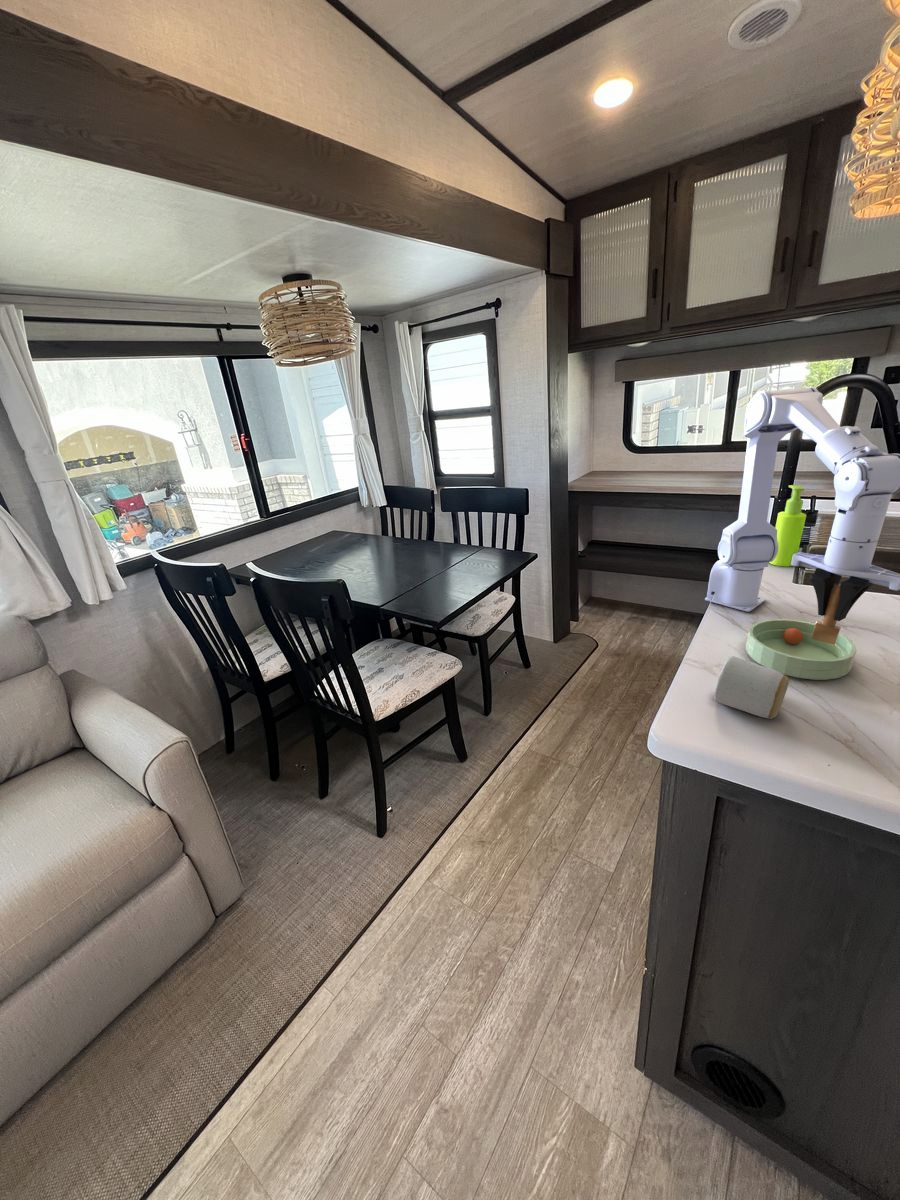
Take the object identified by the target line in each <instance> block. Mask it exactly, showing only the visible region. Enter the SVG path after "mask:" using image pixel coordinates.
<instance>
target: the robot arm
mask: <svg viewBox="0 0 900 1200" xmlns="http://www.w3.org/2000/svg"><path fill="white" fill-rule="evenodd" d="M823 399H824V394H823V393H822V392H820V391H819V390H818V389H817V388H816V387H815V386H813V385H811V386H805V387H800V388H799V387H798V388H786V389H777V390H759V391H757V392H756V393H755V394H754V395H753V396H752V398H751V399H750V400H749V402H747V404H746V409H745V410H746V411H745V416H744V425H743V437H745V438H747V441H746V442H747V443H746V449H745V450H746V451H745V459H744V466H743V477H742V483H741V493H740V500H739V508H738V517H737V519H736V520H735V521H734V522H732V523H731V524H729V525H728V526H726V527H724V528H723V529H722V535H721V538H720V541H719V543H718V546H717V556H718V559H719V560H717V561H716V562H715V563H714V564H713V566H712V568H711V571H710V574H709V580H708V585H707V593H706V597H705V598H704V601H706V602H710V603H713V604H717V605H720V606H723V607H728V608H731V609H736V610H739V611H743V612H746V613H750V612H752V611H753V610H754V609H756V608H758V606H760V605H761V604H763V603H764V602H765V598H762V597H759V593H760V589H761V584H762V579H763V574H764V569H765V568H768V567H769V564H770V563H769V562H772V561H773V560H774V559H775V557H776V556H777V553H778V542H777V529H776V528H775V527H776V526H773V525H772V524H771V523H770V522H768V517H769V510H770V502H771V495H772V488H773V482H774V474H775V469H776V468H775V467H776V459H777V452H778V445H779V442H780V441H781V440H782V439H783V438H784V437H785V436H786V435H788V434H791V433H793V432H795V431H796V430H798V429H799V430H800V431H801V432H802V433H804V435H806V436H807V437H808V438H810V440H812V441H813V442H815V443H816V446H815V450H814V453H815V456H816V457H817V458H818V459H819V460H820V461H821V462H822V463H823V464H824V465H825V467H827V468H828V470H829V471H830V472H831V473H832V474H833V475H834V476H833V487H834V490H835V496H834V501H833V502H834V507H835V508H836V512H835V515H834V519H833V523H832V527H831V531H830V535H829V538H828V542H827V546H826V550H825V553H824V555H822V554H814V553H807V552H802V551H798V553H796V554H793V558H792V562H791V565H793V566H794V567H804V568H807V569H813V570H814V572H813V574H810V577H809V581H810V582H811V584H812V586H813V589H814V592H815V596H816V601H817V615H818V616H820V617H824V614H825V611H826V608H827V604H828V601H829V598H830V595H831V591H832V588H833V585H834V584H835V583H839V584H840V597H839V603H838V606H837V609H836V612H835V616H834V620H836V621H837V622H841V621H843V620H845V619H846V618H847V616H848V614H849V613H850V611H851V609H852V607H853V606H854V605H855V603H856V602H857V601H858V600H859V599H860V598H861V597H862V595H864V593H866V592H867V590H869V589H870V588H871V587H872V586H873V585H874V584H875V585H878V586H882V587H886V588H888V589H889V590H892V591H897V592H898V591H900V573H898V572H895V571H892V570H890V569H886V568H883V567H880V566H877V565H874V564H872V562H873V559H874V555H875V552H876V548H877V547H878V546H877V545H878V542H879V539H880V535H881V532H882V529H883V526H884V522H885V519H886V516H887V512H888V509H889V506H890V503H891V500H892V496H893V495H896V494H898V493H899V492H900V453H887V452H886V451H885V452H882V451H881V450H880V448H879V447H878V446H877V445H876V444H873V442H871V441H870V440H869V439H868V438H867V437H865V436H864V435H863V434H862V433H861V432H862V429H861V428H860V427H859V426H854V425H853V426H851V425H844V426H840V425H839V423H838V422H837V421H836V420H835V419H834V418H833V416H832V415H831V414H830V413H829V411H828V410H827V409H826V408H825V406H823V401H824V400H823ZM793 566H792V567H793ZM842 577H846V578H848V579H845V580H844V581H841V579H842ZM840 581H841V582H840ZM714 595H715V597H714ZM713 597H714V599H713ZM712 599H713V601H712Z"/></svg>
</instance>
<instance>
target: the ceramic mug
mask: <svg viewBox="0 0 900 1200" xmlns="http://www.w3.org/2000/svg"><path fill="white" fill-rule="evenodd" d="M789 682H790V679H789V677H788V675H784V674H782V673H780V672H778V671H775V670H773V669H770V668H767V667H764V666H763V665H761V664H759V663H755V662H752V661H750V660H747V659H743V658H741V657H738V656H736V655H735V656H734V655H730V656H729V657H728V658H727V659H726V661H725V663H724V664H723V665H722V668H721V671H720V674H719V676H718V678H717V682H716V685H715V690H714V694H713V695H714V697H713V699H714V701H715V702H716V703H719V704H721V705H725V706H728V707H730V708H733V709H736V710H739V711H743V712H746V713H748V714H751V715H753V716H757V717H759V718H764V719H770V720H772V719H775V718H776V717H777V716H778V714H779V712H780V710H781V707H782V705H783V702H784V700H785V697H786V693H787V690H788V687H789V684H790V683H789Z"/></svg>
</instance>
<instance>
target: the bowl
mask: <svg viewBox="0 0 900 1200" xmlns="http://www.w3.org/2000/svg"><path fill="white" fill-rule="evenodd" d="M815 624H816V623H815V622H809V621H806V620H805V621H804V620H798V619H788V618H772V619H764V620H760V621H757V622H754V623H752V625H751V626H749V629H748V632H747V637H746V642H745V651H746V654H747V655H748V656H749V657H750V658H751V659H752V660H753V661H755V662H756V663H757V664H758V665H761V666H763V667H767V668H770V669H773V670H775V671H778V672H780V673H782V674H784V675H786V676H787V677H788V676H789V677H791V678H797V679H803V680H817V681H819V680H820V681H821V680H833V679H834V680H835V679H839V678H842V677H844V676H846V675H848V674H849V672H850V671H851V670H852V667H853V664H854V661H855V657H856V654H857V646H856V644H855V643H854V642H853V640H851V639H850V638H849V637H848V636H846V635H845V634H843V633H841V632H839V634H838V637H837V640H836V643H835V645H833V644H829V643H825V642H822V641H818V640H814V639H811V637H812V634H813V631H814V628H815ZM790 628H795V629H798V630H800V631H801V632H802V634H803V640H802V641H801V642H800V643H798V644H789V643H787V642H786V641H785V640H784V638H783V634H784V632H785V631H786V630H787V629H790Z"/></svg>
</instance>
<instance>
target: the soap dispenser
mask: <svg viewBox="0 0 900 1200" xmlns="http://www.w3.org/2000/svg"><path fill="white" fill-rule="evenodd" d="M788 488H790V489H792V494H791V498H788V499H787V500H786V503H785V507H784V511H780V512H778V513H777V516H776V517H777V518H776V523H775V526H774V527H775V528H776V529H777V542H778V553H777V556H776V557H775V559H774V560H773V561H772V562H769V563H768V564H771V565H773V566H778V567H793V565H791V562H792V558H793V554H796V553H799V550H800V549H799V548H800V545H801V540H802V537H803V532H804V527H805V522H806V520H807V514H806V513H804V512H802V509H803V506H804V505H803V504H804V500H803V499H802V498H801V495H802V492H804V491H805V488H804V487H803V486H802V485H801V484H791V485H789V484H788Z"/></svg>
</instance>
